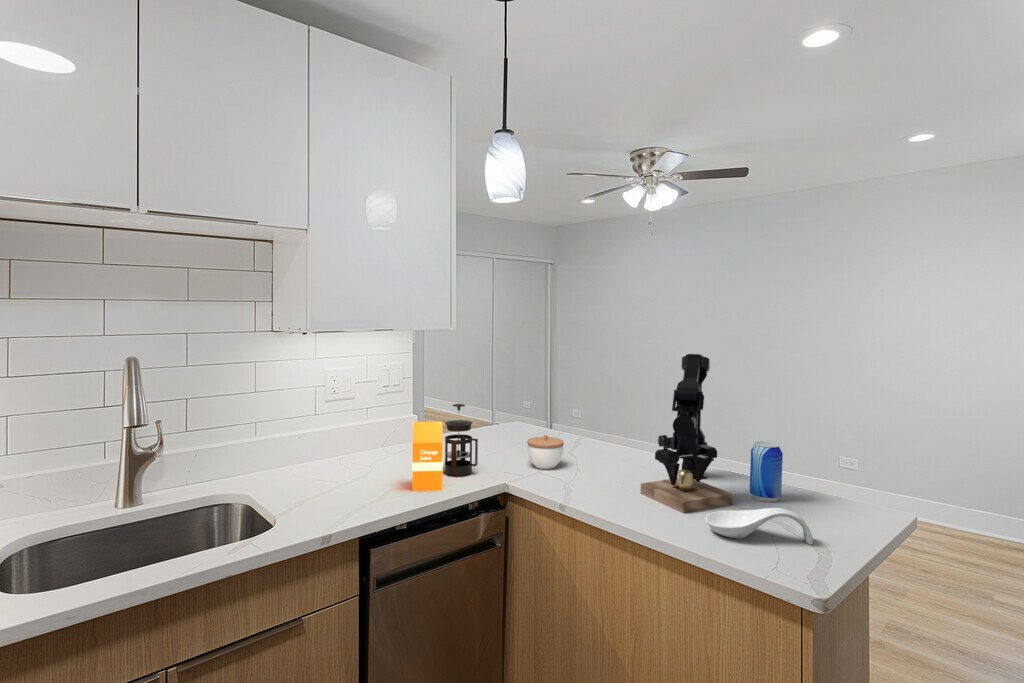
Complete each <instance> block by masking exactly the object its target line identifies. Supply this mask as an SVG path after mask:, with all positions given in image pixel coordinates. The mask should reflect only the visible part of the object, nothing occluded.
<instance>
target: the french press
mask: <svg viewBox="0 0 1024 683" xmlns="http://www.w3.org/2000/svg"><path fill="white" fill-rule="evenodd" d="M452 406H453V407H456V409H457V414H458V415H457V419H458V420H457V419H454V420H448V421H445V422H444V425H446V429H447V431H448V432H455V433H457V434H449V435H446V436H445V437H444V443H445V444H444V471H443V474H444V476H447V477H450V478H451V477H452V478H464V477H468V476H471V475H472V474H473V467H477V466H478V461H479V460H478V458H479V456H478V453H479V452H478V451H479V449H478V446H479V439H478V438H473V436H472V435H469V434H460V432H468V431H471V429H472V425H473V422H472V421H471V420H464V419H460V411H461V407H465V406H466V404H464V403H455V404H452ZM473 441H475V442H474V445H475V448H474V463H473ZM448 444H449V445H451V448H450V449H451V450H450V451H449V450H448V448H449V447H448ZM466 444H469V451H466ZM448 451H449V452H448ZM468 458H469V460H466V459H468ZM448 459H451V460H448Z"/></svg>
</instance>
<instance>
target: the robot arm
mask: <svg viewBox="0 0 1024 683" xmlns="http://www.w3.org/2000/svg"><path fill="white" fill-rule="evenodd" d="M710 362H711V361H710V358H709V357H706V356H703V355H702V354H700V353H699V354H698V353H688V354H685V355H684V356H682V357H681V370H682V371H683V379H682V380H680V381H679V382H678V383H677V385H676V389H674V390H673V396H672V397H673V398H672V407H671V410H672V412H677V414H676V417H675V419H674V420H673V421H672V429H673V433H672V436H671V437H668V436H667V434H662V435H661V434H660V435H659V436H658V439H657V442H658V446H659V447H660V448H661V447H663V448H662V449H657V450H656V451H655V453H654V460H655V461H658V462H659V463H660V464H662V465H663V466H664V467H665V470H666V472H667V475H668V477H669V479H670V481H671V484H672V485H675V484H676V481H677V478H678V476H679V470H680V465H681V470H691V471H693V479H695V480H696V481H698V482H699V481H700V482H701V480H702V479H701V478H703V479H707V478H708V476H707V475H705V473H706V471H707V470H708V468H709V467H710V465H711V463H712V462H714V461H715V459H717V458H718V451H717V448H716V447H713V446H711V445H708V442H707V441H706V435H705V434H704V431H703V429H702V428H701V423H702V422H701V420H702V411H703V410H704V404H705V403H704V402H705V395H704V393H703V391H702V390H703V389H702V388H703V383H704V381H705V380H706V378H707V377H708V372H710V367H711V366H710V365H711V363H710ZM680 459H682V462H681V464H680V463H679V461H680Z"/></svg>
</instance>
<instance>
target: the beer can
mask: <svg viewBox="0 0 1024 683" xmlns="http://www.w3.org/2000/svg"><path fill="white" fill-rule="evenodd" d="M752 446H753V447H752V448H751V450H750V465H749V466H750V469H749V493H750V495H751V497H752V498H753V499H754V498H755V499H754V500H756V499H757V501H759V500H761V501H760V502H764V501H766V502H765V503H774V502H775V501H776V502H778V501H779V500H780V498H781V497H782V484H783V483H782V482H783V480H782V479H783V451H782V449H781V448H780V444H778V443H776V442H771V441H755V442H754V445H752ZM776 502H775V503H776Z"/></svg>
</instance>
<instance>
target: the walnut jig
mask: <svg viewBox="0 0 1024 683" xmlns="http://www.w3.org/2000/svg"><path fill="white" fill-rule="evenodd" d="M640 494H641V495H642V496H645V497H647V498H650V499H651V500H653V501H655V502H658V503H659V504H660V503H661V504H662V505H664V506H666V507H669V508H671V509H674V510H676V511H678V512H679V513H682V514H686V513H687V514H688V513H692V511H693V512H697V511H703V510H707V509H713V508H718V507H719V506H720V507H724V506H729V504H731V505H733V500H734V499H733V498H734V497H733V495H734V493H732V492H729V491H727V490H725V489H721V488H718V487H716V486H714V485H710V484H708V483H706V482H703V481H701V480H700V481H699V482H698V481H696V480H695V479H693V491H691V492H682V491H680V490H678V477H677V481H676V484H675V485H672V484H671V481H670V478H669V479H662V480H656V481H649V482H643V483H642V482H641V483H640Z"/></svg>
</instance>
